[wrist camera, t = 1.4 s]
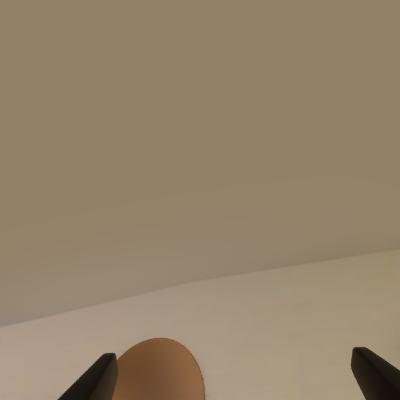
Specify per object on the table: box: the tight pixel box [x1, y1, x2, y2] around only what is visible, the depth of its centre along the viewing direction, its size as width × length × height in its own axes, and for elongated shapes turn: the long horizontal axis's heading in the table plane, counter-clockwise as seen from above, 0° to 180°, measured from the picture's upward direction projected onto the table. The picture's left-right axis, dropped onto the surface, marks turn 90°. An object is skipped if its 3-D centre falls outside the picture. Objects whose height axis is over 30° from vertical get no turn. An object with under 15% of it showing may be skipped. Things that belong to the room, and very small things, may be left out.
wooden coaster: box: [112, 338, 205, 400], centre depth 19 cm, size 10×10×1 cm
